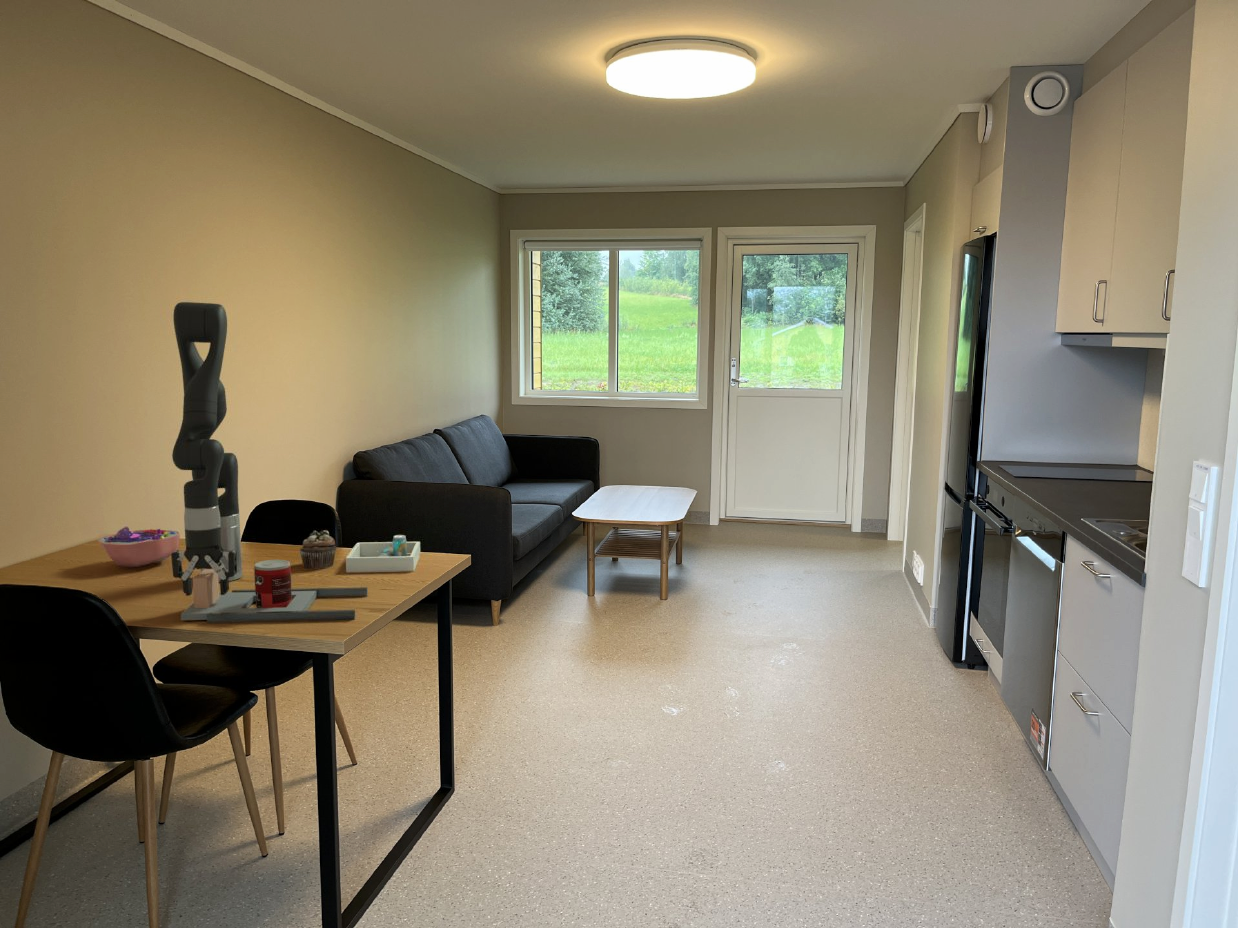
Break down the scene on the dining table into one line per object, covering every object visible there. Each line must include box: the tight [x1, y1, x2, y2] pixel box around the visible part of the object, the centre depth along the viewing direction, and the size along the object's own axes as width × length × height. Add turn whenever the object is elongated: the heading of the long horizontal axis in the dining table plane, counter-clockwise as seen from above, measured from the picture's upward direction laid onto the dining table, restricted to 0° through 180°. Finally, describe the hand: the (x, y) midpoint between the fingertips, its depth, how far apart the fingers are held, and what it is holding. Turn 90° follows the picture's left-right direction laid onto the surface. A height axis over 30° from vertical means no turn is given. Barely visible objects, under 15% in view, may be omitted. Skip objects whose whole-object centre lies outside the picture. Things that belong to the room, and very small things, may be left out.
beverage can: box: [377, 534, 407, 557], centre depth 249 cm, size 12×12×8 cm
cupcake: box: [299, 529, 337, 570], centre depth 244 cm, size 10×10×10 cm
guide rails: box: [206, 586, 369, 624], centre depth 207 cm, size 32×19×2 cm, turn 97°
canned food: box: [253, 559, 292, 608], centre depth 206 cm, size 8×8×11 cm
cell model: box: [98, 526, 181, 568], centre depth 242 cm, size 17×20×11 cm
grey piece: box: [180, 569, 318, 621], centre depth 205 cm, size 26×16×8 cm, turn 97°
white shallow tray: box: [345, 541, 421, 573], centre depth 248 cm, size 18×18×4 cm
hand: (206, 594), depth 204 cm, fingers open, 7 cm apart
